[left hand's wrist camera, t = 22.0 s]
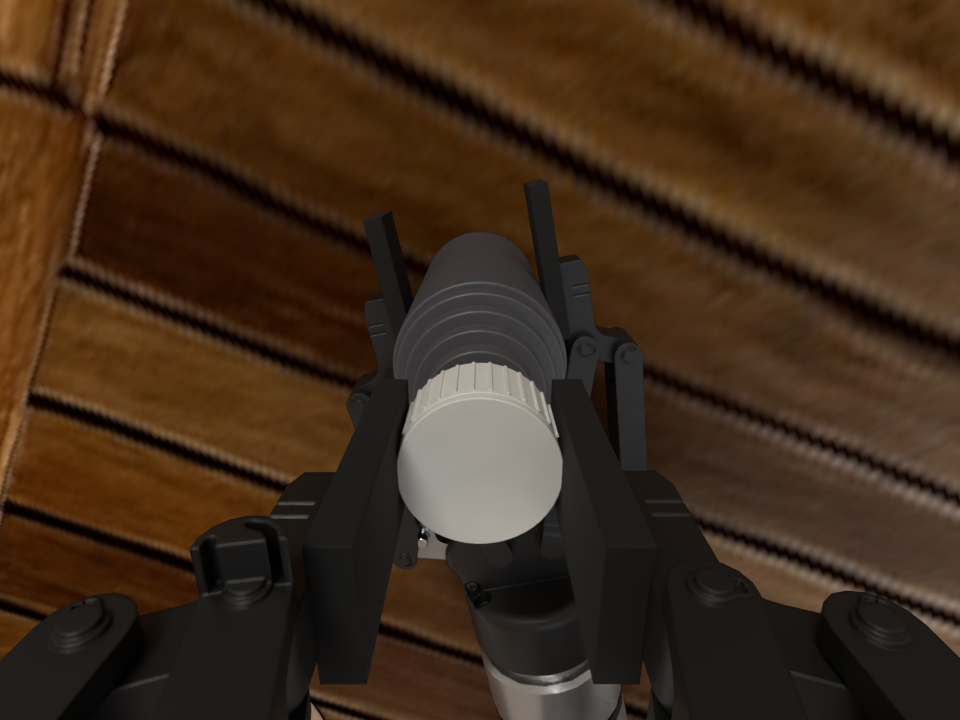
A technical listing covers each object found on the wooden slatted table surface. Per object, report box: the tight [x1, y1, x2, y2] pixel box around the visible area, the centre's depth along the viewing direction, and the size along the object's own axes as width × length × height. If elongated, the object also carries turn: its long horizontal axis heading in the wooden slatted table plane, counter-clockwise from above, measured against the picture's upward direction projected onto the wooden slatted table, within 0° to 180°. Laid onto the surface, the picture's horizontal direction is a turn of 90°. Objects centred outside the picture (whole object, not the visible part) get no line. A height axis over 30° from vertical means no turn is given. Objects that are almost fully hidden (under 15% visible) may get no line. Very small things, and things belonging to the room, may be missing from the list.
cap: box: [397, 362, 563, 544], centre depth 13 cm, size 4×4×2 cm
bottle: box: [393, 232, 567, 406], centre depth 22 cm, size 6×6×19 cm
